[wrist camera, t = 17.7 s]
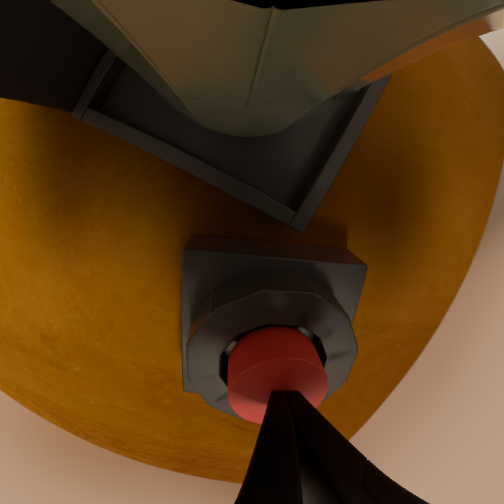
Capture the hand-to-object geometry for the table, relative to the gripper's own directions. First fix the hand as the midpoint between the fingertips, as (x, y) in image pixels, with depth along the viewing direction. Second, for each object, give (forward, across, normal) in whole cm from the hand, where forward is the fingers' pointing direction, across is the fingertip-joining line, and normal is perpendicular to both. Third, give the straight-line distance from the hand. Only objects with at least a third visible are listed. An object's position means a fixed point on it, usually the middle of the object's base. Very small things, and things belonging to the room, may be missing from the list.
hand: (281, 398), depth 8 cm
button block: (+6, 0, 0) cm, 6 cm away
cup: (+5, +2, -11) cm, 12 cm away
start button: (+2, 0, 0) cm, 2 cm away
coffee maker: (+5, +5, -12) cm, 14 cm away
